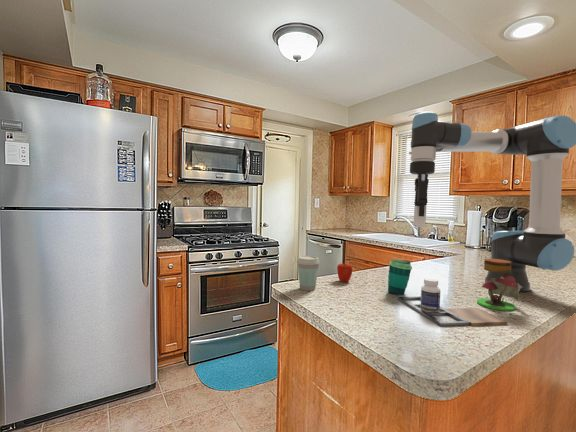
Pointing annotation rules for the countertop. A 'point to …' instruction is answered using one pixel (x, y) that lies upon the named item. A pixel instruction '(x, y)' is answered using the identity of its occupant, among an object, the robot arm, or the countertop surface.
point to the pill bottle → (430, 296)
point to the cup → (398, 276)
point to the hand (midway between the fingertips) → (418, 226)
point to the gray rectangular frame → (435, 313)
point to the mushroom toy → (499, 286)
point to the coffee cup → (308, 272)
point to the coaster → (477, 316)
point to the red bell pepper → (344, 272)
